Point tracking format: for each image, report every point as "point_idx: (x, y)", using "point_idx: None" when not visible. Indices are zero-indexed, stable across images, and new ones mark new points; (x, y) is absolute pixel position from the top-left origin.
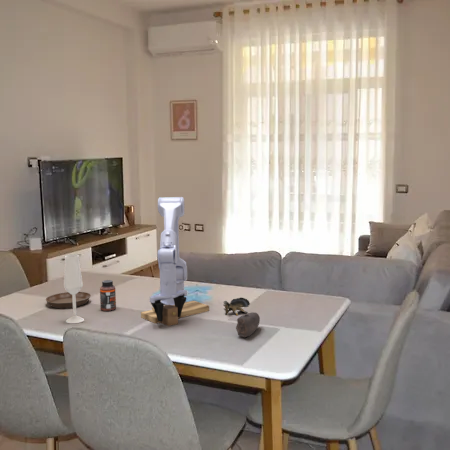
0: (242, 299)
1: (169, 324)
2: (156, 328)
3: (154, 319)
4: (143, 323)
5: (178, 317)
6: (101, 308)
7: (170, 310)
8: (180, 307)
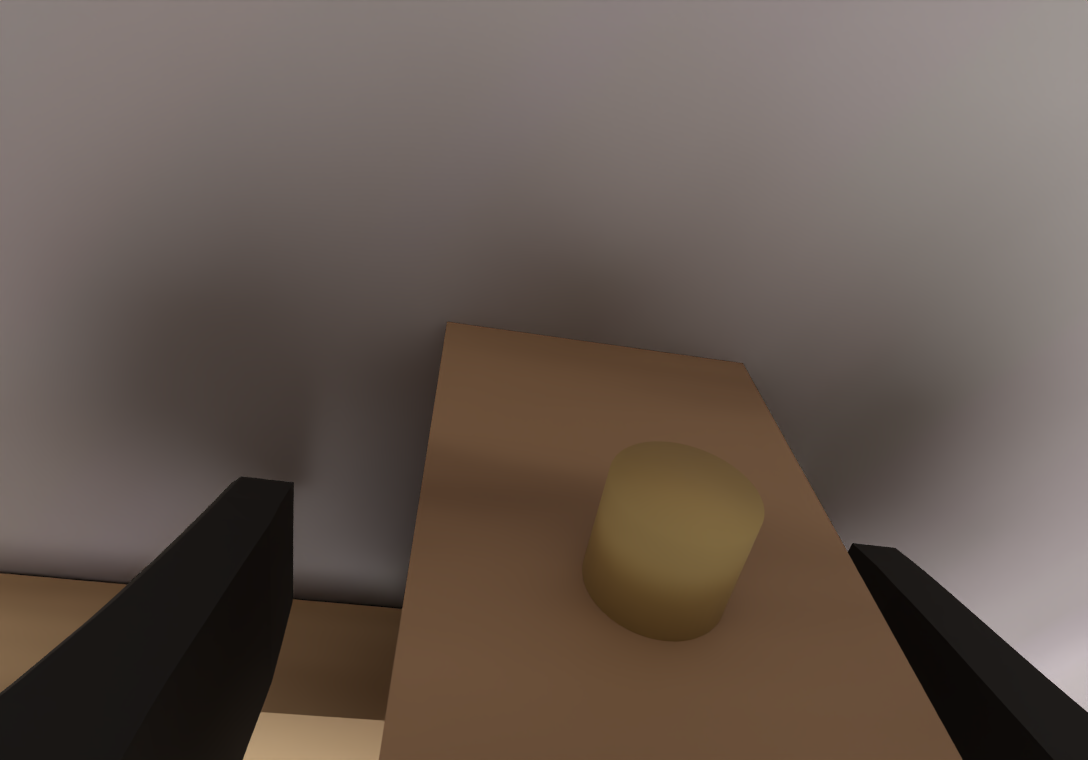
0: None
1: (724, 375)
2: (1033, 432)
3: None
4: None
5: None
6: None
7: (814, 728)
8: (113, 748)
